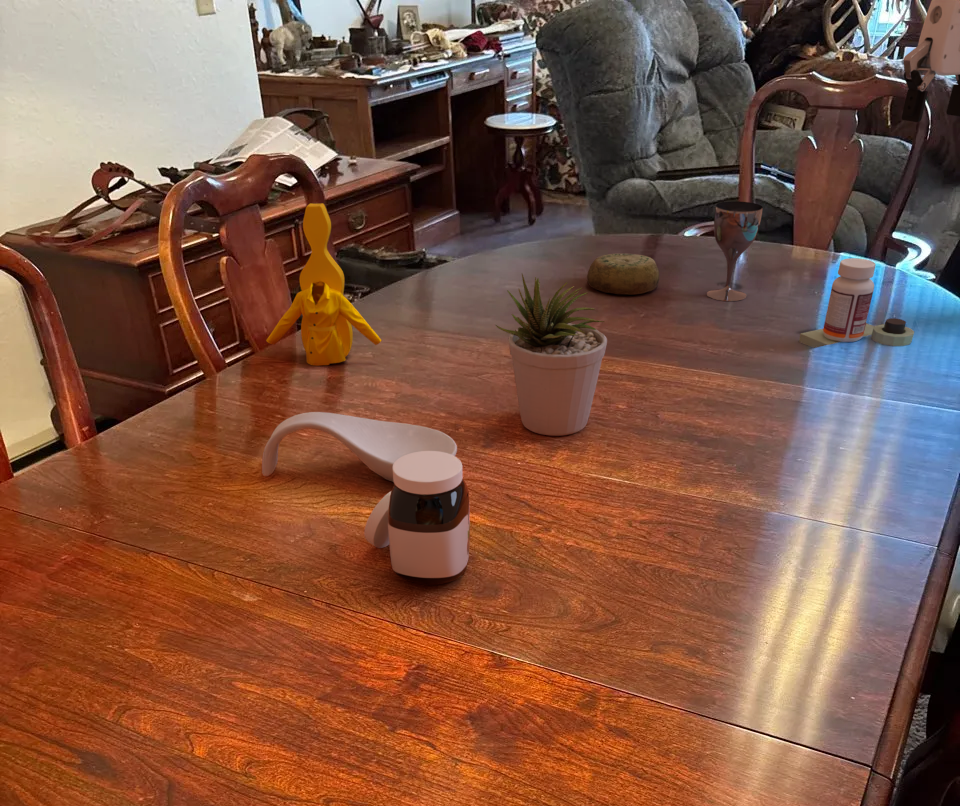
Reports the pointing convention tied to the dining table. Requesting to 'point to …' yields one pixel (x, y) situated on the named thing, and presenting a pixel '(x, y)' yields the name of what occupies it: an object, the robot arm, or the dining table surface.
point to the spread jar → (424, 519)
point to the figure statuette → (322, 300)
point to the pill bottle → (850, 301)
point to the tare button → (894, 326)
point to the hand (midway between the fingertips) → (933, 118)
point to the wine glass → (734, 239)
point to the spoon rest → (362, 439)
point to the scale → (877, 333)
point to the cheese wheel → (623, 274)
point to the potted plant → (554, 363)
